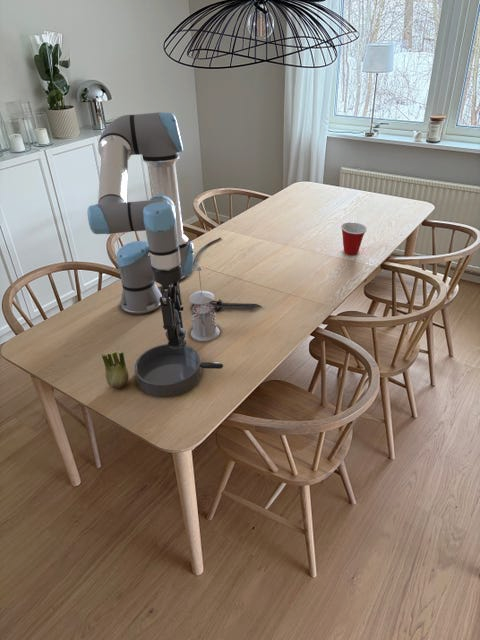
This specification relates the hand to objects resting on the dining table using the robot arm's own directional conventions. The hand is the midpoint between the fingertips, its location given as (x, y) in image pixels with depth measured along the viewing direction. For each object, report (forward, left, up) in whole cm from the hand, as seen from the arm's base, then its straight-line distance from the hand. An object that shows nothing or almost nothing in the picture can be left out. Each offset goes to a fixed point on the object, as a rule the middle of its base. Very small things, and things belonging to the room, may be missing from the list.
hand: (176, 338), depth 133 cm
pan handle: (0, +9, -11) cm, 14 cm away
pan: (0, -4, -14) cm, 14 cm away
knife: (-38, +10, -14) cm, 42 cm away
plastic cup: (-82, +60, -14) cm, 103 cm away
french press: (-21, +4, -14) cm, 26 cm away
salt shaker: (0, 0, -2) cm, 2 cm away
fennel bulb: (+5, -18, -14) cm, 23 cm away
